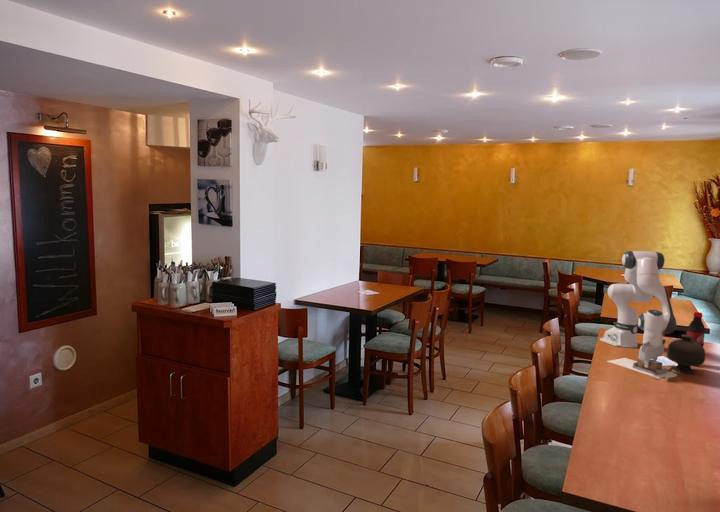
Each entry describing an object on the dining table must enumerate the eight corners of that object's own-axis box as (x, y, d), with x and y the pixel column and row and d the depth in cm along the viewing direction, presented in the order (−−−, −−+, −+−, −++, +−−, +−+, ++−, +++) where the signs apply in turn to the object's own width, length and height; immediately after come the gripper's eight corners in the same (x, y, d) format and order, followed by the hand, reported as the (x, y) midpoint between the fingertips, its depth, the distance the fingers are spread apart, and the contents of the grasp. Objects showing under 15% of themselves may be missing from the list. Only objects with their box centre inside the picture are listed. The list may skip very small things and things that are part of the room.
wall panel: (606, 363, 296) (607, 356, 295) (624, 359, 303) (625, 353, 303) (658, 380, 270) (658, 373, 269) (676, 376, 277) (677, 369, 277)
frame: (637, 366, 284) (638, 358, 284) (642, 364, 288) (643, 356, 287) (656, 371, 276) (657, 363, 276) (661, 370, 280) (662, 361, 279)
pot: (671, 373, 279) (674, 336, 279) (660, 366, 297) (663, 330, 296) (709, 378, 275) (713, 340, 275) (695, 370, 293) (699, 334, 292)
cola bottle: (704, 367, 295) (710, 314, 292) (689, 366, 295) (695, 313, 292) (695, 362, 303) (701, 311, 300) (680, 361, 304) (686, 310, 300)
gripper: (648, 345, 272) (646, 371, 273) (667, 339, 284) (664, 364, 285) (636, 342, 277) (634, 367, 278) (655, 336, 289) (652, 361, 290)
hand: (649, 366), depth 282 cm, fingers closed on frame, 5 cm apart
